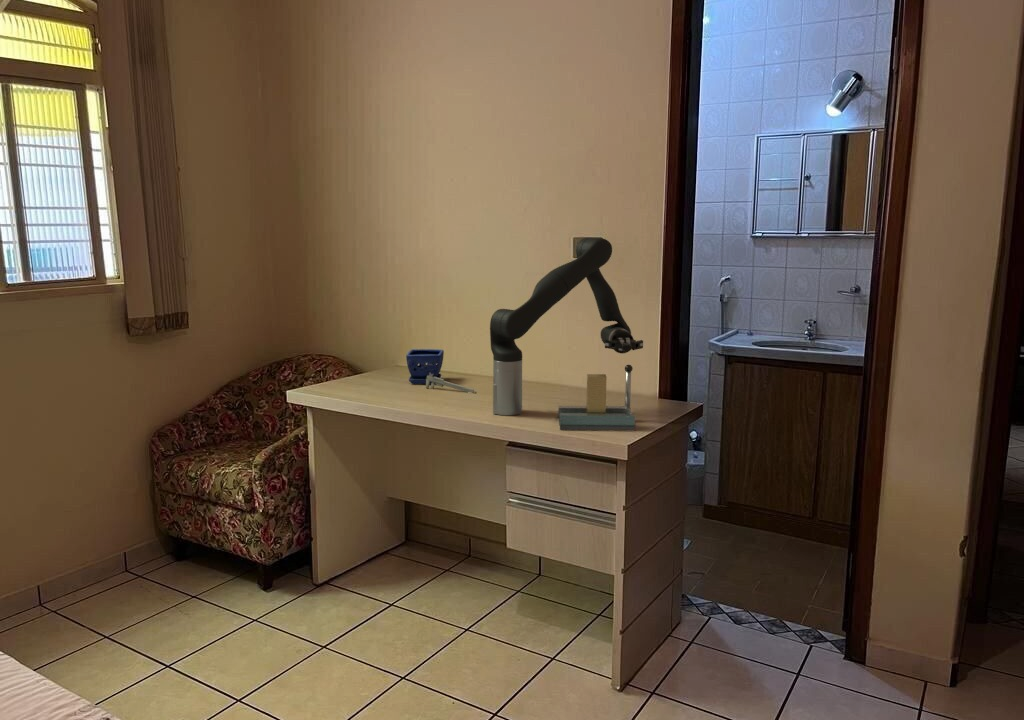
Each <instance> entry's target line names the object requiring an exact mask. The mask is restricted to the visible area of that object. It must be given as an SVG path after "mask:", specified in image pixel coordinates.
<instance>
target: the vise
mask: <svg viewBox="0 0 1024 720" xmlns="http://www.w3.org/2000/svg"><path fill="white" fill-rule="evenodd" d="M557 419H559V420H558V426H560V427H559V431H598V430H635V431H636V426H635V425H636V415H635V413H631V414H607V413H560V417H559V415H558V414H557Z"/></svg>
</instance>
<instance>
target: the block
mask: <svg viewBox="0 0 1024 720" xmlns="http://www.w3.org/2000/svg"><path fill="white" fill-rule="evenodd" d="M607 378H608V377H607V375H606V374H604V373H602V374H600V373H598V374H597V373H586V405H585V406H586V413H606V406H607Z"/></svg>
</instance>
